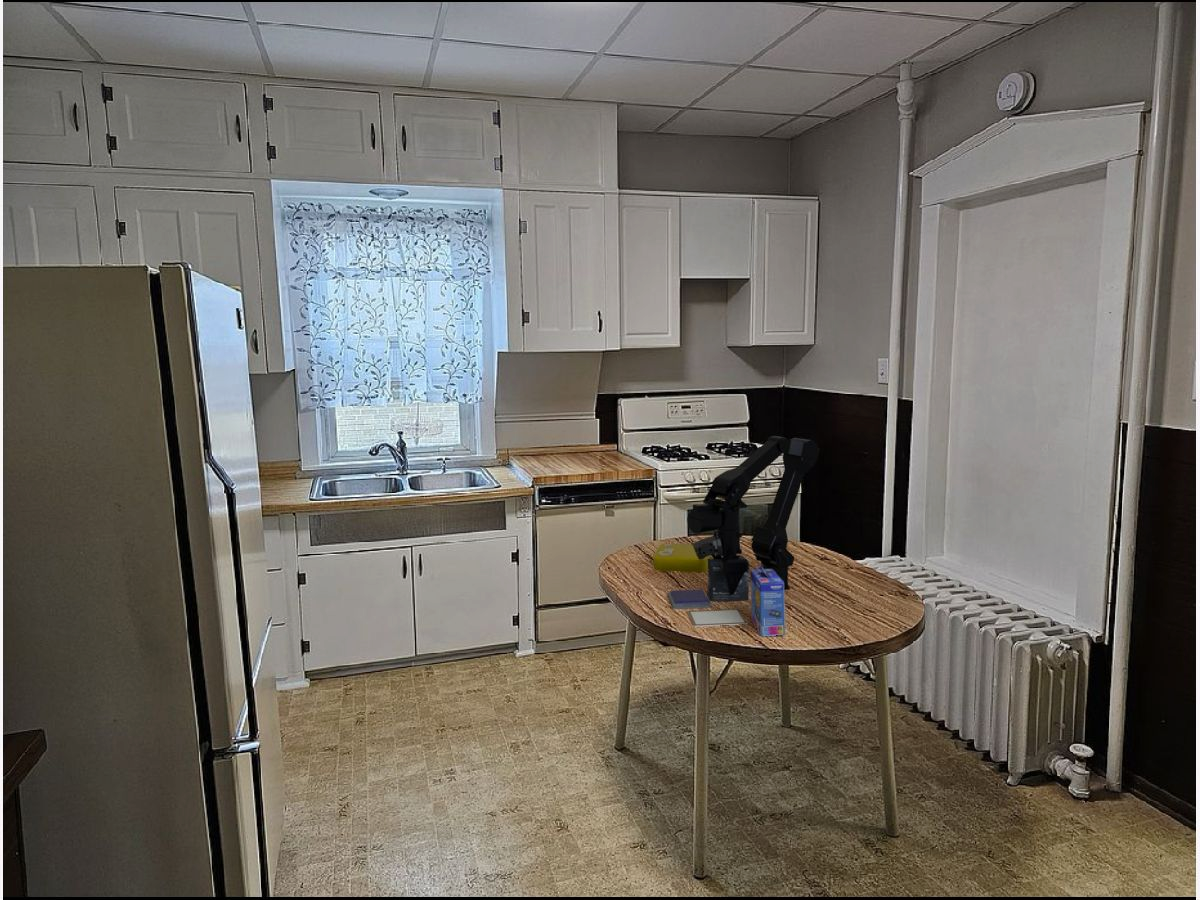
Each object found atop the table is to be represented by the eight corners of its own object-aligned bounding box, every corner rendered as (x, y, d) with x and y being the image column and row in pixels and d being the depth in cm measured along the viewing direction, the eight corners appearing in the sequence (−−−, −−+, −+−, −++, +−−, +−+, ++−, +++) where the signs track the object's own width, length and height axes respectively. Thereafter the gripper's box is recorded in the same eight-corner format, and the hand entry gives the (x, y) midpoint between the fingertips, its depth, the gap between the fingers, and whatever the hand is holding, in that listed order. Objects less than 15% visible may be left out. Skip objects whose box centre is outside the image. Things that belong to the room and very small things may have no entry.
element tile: (706, 574, 206) (706, 557, 205) (652, 572, 209) (652, 555, 209) (710, 558, 221) (710, 543, 220) (660, 557, 224) (659, 541, 223)
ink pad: (704, 595, 189) (704, 588, 188) (711, 607, 180) (710, 600, 179) (668, 596, 188) (668, 590, 188) (673, 609, 179) (673, 602, 179)
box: (710, 602, 184) (710, 564, 182) (707, 594, 189) (707, 558, 188) (749, 601, 184) (749, 563, 182) (744, 593, 189) (744, 557, 188)
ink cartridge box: (749, 620, 171) (749, 558, 169) (773, 619, 171) (774, 557, 169) (760, 637, 161) (760, 572, 159) (785, 636, 161) (786, 571, 159)
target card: (738, 610, 177) (738, 608, 177) (747, 624, 169) (747, 622, 168) (687, 612, 177) (687, 610, 177) (694, 626, 168) (694, 625, 168)
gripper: (688, 519, 193) (689, 578, 195) (702, 538, 174) (702, 603, 176) (732, 517, 193) (732, 576, 195) (749, 536, 175) (749, 601, 177)
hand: (728, 588), depth 186 cm, fingers open, 8 cm apart
